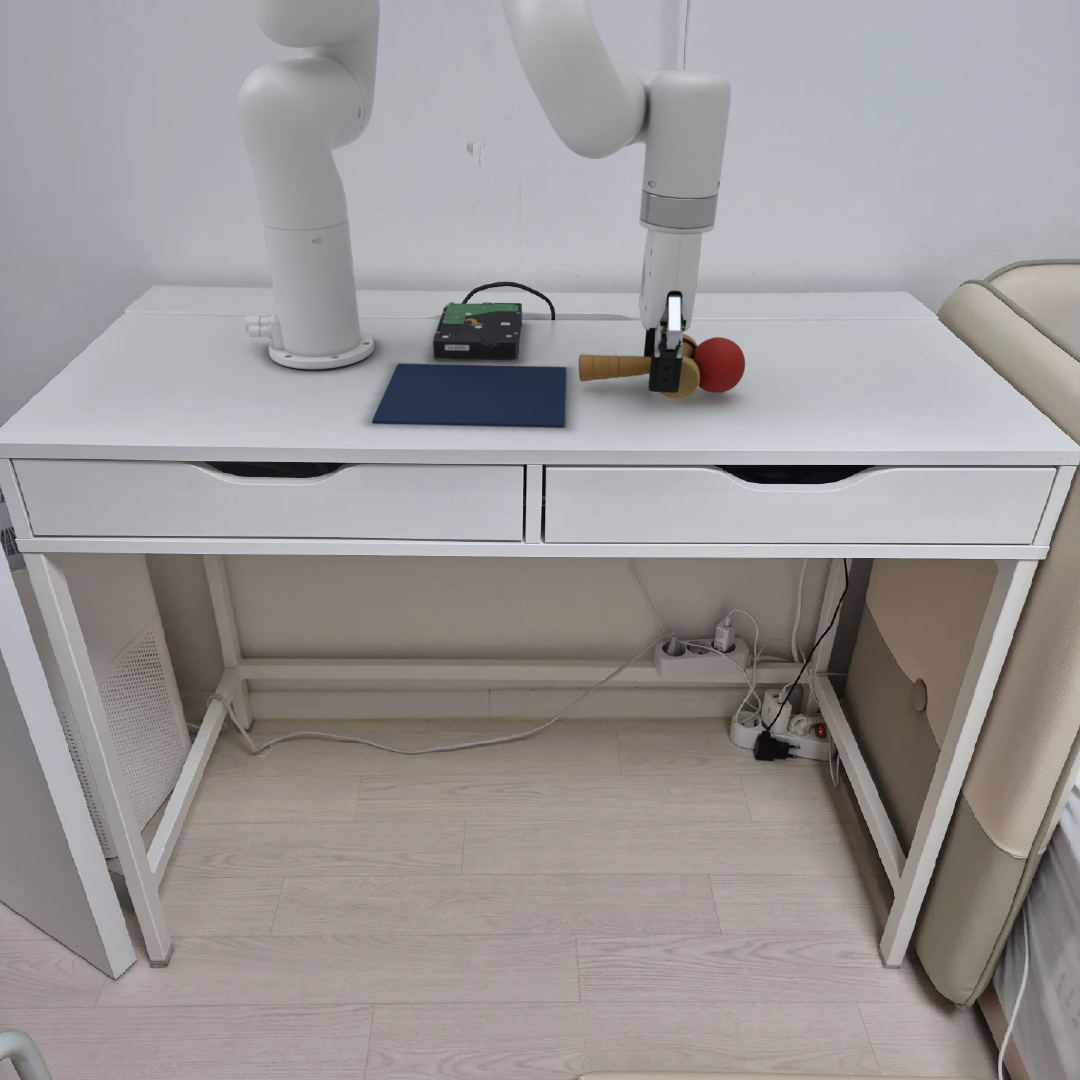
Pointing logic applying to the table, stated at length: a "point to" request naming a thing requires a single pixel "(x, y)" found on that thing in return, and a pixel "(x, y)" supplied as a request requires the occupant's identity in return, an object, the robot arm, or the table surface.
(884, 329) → the table surface
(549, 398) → the napkin
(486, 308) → the disk drive
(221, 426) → the table surface
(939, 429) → the table surface
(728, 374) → the kendama
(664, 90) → the robot arm
